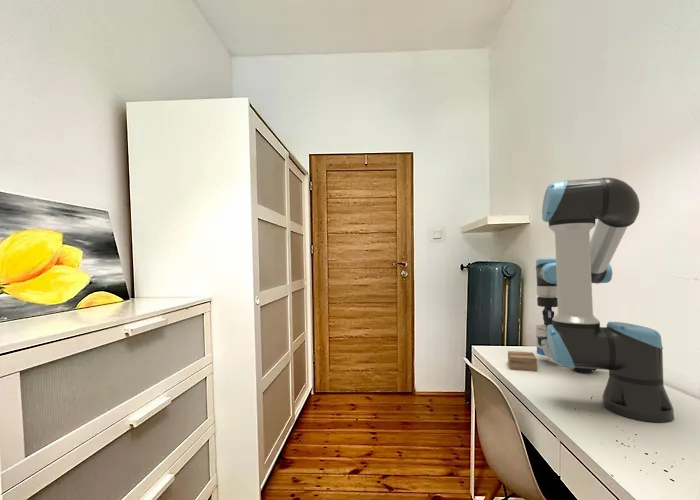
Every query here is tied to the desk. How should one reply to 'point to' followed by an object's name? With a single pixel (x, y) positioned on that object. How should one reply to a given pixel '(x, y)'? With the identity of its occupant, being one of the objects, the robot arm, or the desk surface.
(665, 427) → the desk surface
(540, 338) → the ink box
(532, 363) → the base block
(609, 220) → the robot arm
